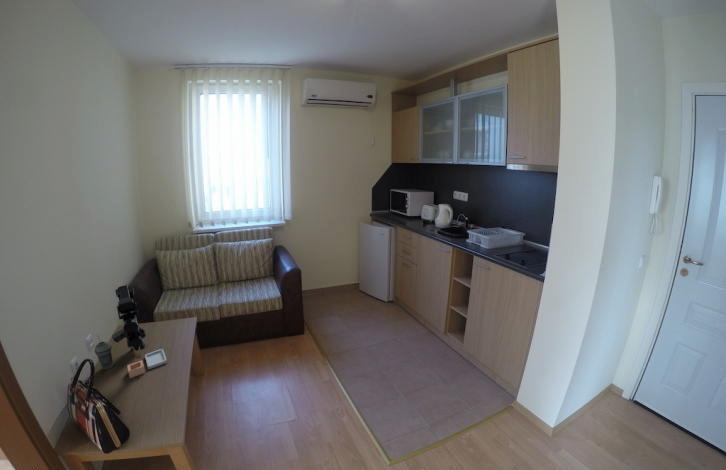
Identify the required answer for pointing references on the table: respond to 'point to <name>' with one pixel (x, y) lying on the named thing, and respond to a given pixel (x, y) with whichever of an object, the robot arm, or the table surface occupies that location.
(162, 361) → the tray
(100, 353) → the beverage cup
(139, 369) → the holder
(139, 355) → the dowel
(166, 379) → the table surface
